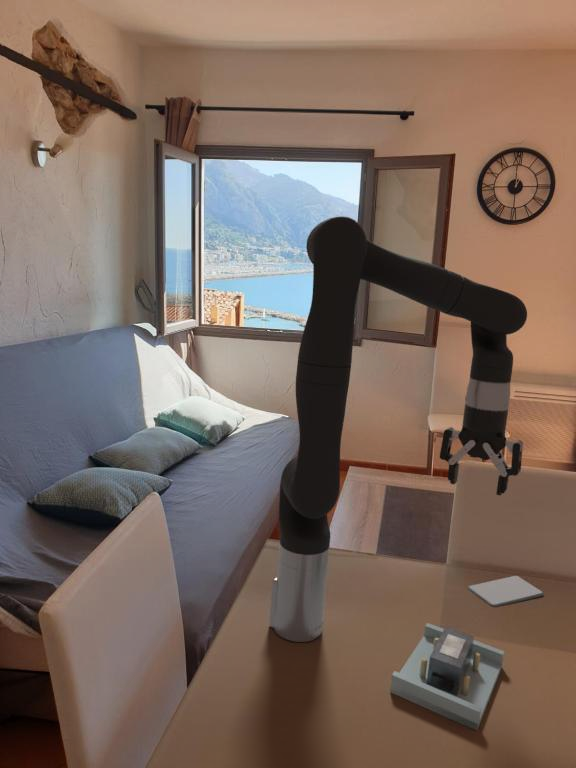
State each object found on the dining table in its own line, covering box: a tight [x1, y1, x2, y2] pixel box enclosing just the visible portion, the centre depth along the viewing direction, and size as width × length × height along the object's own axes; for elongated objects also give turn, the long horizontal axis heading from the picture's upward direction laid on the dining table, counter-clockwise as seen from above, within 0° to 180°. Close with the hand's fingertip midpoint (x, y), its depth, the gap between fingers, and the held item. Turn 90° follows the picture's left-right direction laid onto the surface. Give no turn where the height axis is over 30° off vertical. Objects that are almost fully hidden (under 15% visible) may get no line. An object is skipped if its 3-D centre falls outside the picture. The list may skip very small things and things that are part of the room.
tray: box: [389, 622, 505, 731], centre depth 100 cm, size 14×18×4 cm
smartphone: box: [467, 575, 544, 608], centre depth 130 cm, size 8×1×15 cm
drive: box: [426, 626, 475, 696], centre depth 99 cm, size 10×5×5 cm, turn 151°
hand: (475, 488), depth 110 cm, fingers open, 8 cm apart
